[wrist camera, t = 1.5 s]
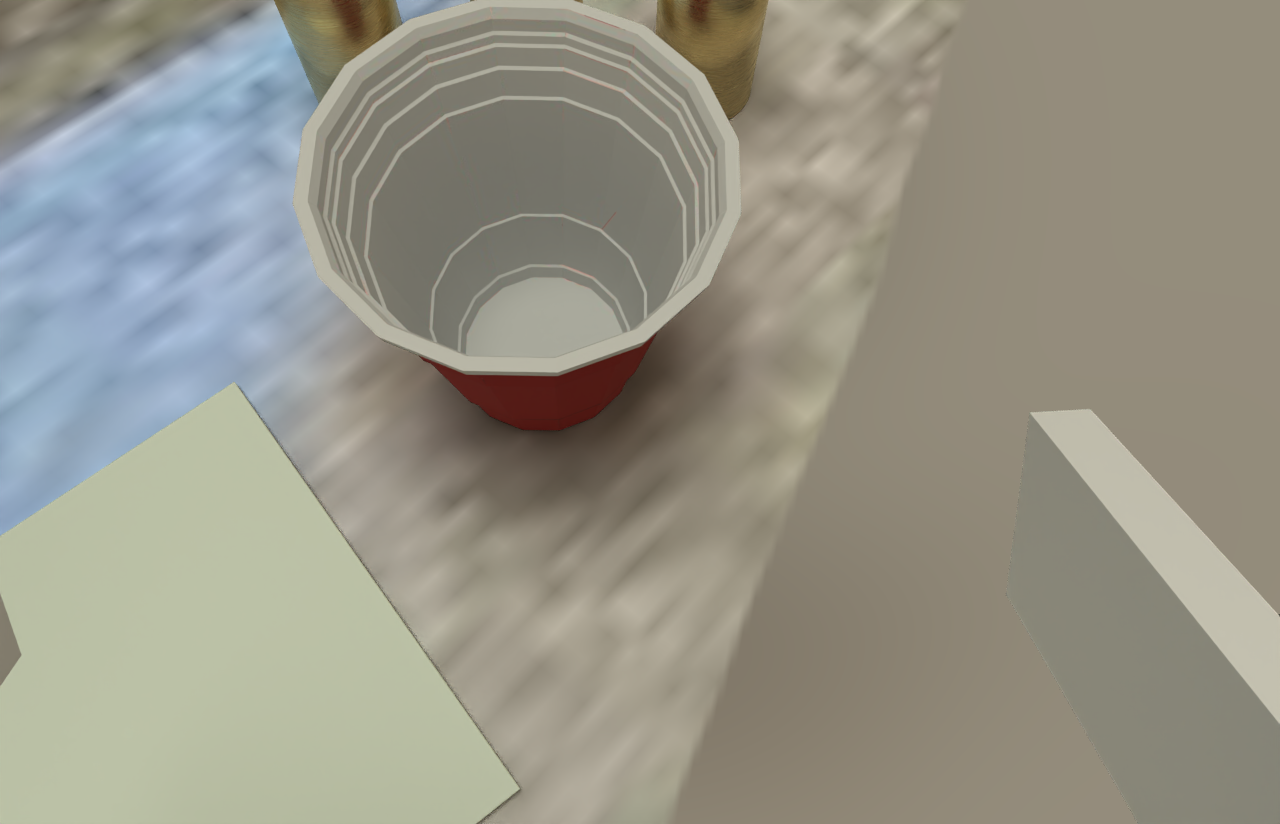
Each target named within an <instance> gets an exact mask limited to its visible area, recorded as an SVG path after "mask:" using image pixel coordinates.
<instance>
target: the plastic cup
mask: <svg viewBox="0 0 1280 824" xmlns="http://www.w3.org/2000/svg"><path fill="white" fill-rule="evenodd" d="M293 206H294V209H295V212H296V215H297V218H298V221H299V223H300V226H301V229H302V232H303V235H304V238H305V241H306V244H307V246H308V249H309V252H310V255H311V258H312V261H313V264H314V267H315V269H316V272H317V275H318V277H319V278H320V279H321V280H322V281H323V282H324V283H325V284H326V285H327V286H328V287H329V288H330V289H331V290H332V291H333V292H334V293H335V294H336V295H337V296H338V297H339V298H340V299H341V300H342V301H343V302H344V303H345V304H346V305H347V306H348V307H349V308H350V309H351V310H352V311H353V312H354V313H355V314H356V315H357V316H358V317H359V318H360V319H361V320H362V321H363V322H364V323H365V324H366V325H367V326H368V327H369V328H370V329H371V330H372V331H373V332H374V333H375V334H376V335H377V336H378V337H379V338H380V339H382V340H383V341H384V342H387V343H389V344H392V345H394V346H397V347H399V348H402V349H404V350H407V351H409V352H412V353H414V354H416V355H418V356H419V357H420V358H421V359H422V360H423V361H426V362H428V363H431V364H432V365H433V366H434V367H435V368H436V369H437V370H438V371H439V372H440V373H441V374H442V375H443V376H444V377H445V378H446V379H448V380H449V381H450V382H451V383H452V384H453V385H454V386H455V387H456V388H457V389H458V390H459V391H460V392H461V393H462V394H463V395H464V396H465V397H466V398H467V399H468V400H469V401H470V402H471V403H474V404H476V405H479V406H480V407H481V408H482V409H483V410H484V411H485V412H486V413H487V414H488V415H489V416H490V417H493V418H495V419H498V420H500V421H503V422H505V423H507V424H510V425H512V426H515V427H517V428H520V429H522V430H562V429H565V428H567V427H570V426H572V425H575V424H578V423H580V422H583V421H586V420H588V419H591V418H593V417H595V416H596V415H597V414H598V413H599V412H600V411H601V410H602V409H604V408H605V407H606V406H607V405H608V404H609V403H610V402H611V401H612V400H613V399H614V398H615V397H616V396H618V395H619V394H620V392H621V391H622V389H623V387H624V385H625V383H626V381H627V380H628V379H629V378H630V377H631V376H632V375H633V374H634V373H635V371H636V369H637V368H638V366H639V364H640V362H641V360H642V359H643V357H644V355H645V353H646V352H647V350H648V348H649V346H650V344H651V343H652V341H653V339H654V337H655V336H656V334H657V332H658V331H659V330H660V329H661V328H662V327H664V326H665V325H666V324H667V323H668V322H669V321H670V320H671V319H673V318H674V317H675V316H676V315H677V314H678V313H679V312H680V311H682V310H683V309H684V308H685V307H686V306H687V305H688V304H690V303H691V302H692V301H693V300H694V299H695V298H696V297H697V296H699V295H700V294H701V293H702V292H703V291H704V290H705V289H706V288H707V287H708V286H709V284H710V282H711V280H712V278H713V276H714V273H715V271H716V269H717V267H718V264H719V262H720V260H721V258H722V255H723V253H724V251H725V249H726V247H727V244H728V242H729V240H730V238H731V235H732V233H733V231H734V229H735V227H736V224H737V222H738V220H739V218H740V215H741V190H740V163H739V140H738V138H737V136H736V134H735V132H734V130H733V128H732V126H731V124H730V122H729V120H728V119H727V117H726V115H725V113H724V111H723V109H722V107H721V105H720V103H719V101H718V100H717V98H716V96H715V94H714V92H713V90H712V88H711V86H710V84H709V82H708V81H707V79H706V77H705V75H704V74H703V73H702V72H701V71H699V70H698V69H697V68H696V67H695V66H693V65H692V64H691V63H690V62H688V61H687V60H686V59H685V58H684V57H682V56H681V55H680V54H679V53H678V52H676V51H675V50H674V49H673V48H671V47H670V46H669V45H668V44H667V43H665V42H664V41H663V40H662V39H661V38H659V37H658V36H657V35H656V34H654V33H653V32H652V31H651V30H650V29H648V28H647V27H646V26H644V25H641V24H639V23H636V22H633V21H630V20H627V19H625V18H622V17H619V16H616V15H613V14H611V13H608V12H605V11H602V10H599V9H597V8H594V7H591V6H588V5H585V4H583V3H580V2H577V1H574V0H475V1H471V2H468V3H464V4H461V5H457V6H454V7H450V8H447V9H444V10H440V11H437V12H433V13H430V14H426V15H423V16H419V17H416V18H412V19H409V20H408V21H406V22H405V23H404V24H402V25H401V26H399V27H398V28H397V29H395V30H394V31H392V32H391V33H389V34H388V35H387V36H385V37H384V38H382V39H381V40H379V41H378V42H377V43H375V44H374V45H372V46H371V47H370V48H368V49H367V50H365V51H364V52H362V53H361V54H360V55H358V56H357V57H355V58H354V59H353V60H351V61H350V62H348V63H347V64H345V65H344V67H343V68H342V70H341V71H340V73H339V74H338V76H337V78H336V79H335V81H334V82H333V84H332V85H331V87H330V88H329V90H328V91H327V93H326V94H325V96H324V97H323V99H322V101H321V102H320V104H319V105H318V107H317V108H316V110H315V111H314V113H313V114H312V116H311V117H310V119H309V121H308V122H307V124H306V125H305V127H304V128H303V132H302V139H301V146H300V154H299V161H298V168H297V175H296V182H295V190H294V197H293Z"/></svg>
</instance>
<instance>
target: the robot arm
mask: <svg viewBox="0 0 1280 824" xmlns="http://www.w3.org/2000/svg"><path fill="white" fill-rule="evenodd" d="M1006 595H1007V597H1008V599H1009V601H1010V602H1011V604H1012V606H1013V608H1014V609H1015V611H1016V613H1017V614H1018V616H1019V618H1020V620H1021V621H1022V623H1023V625H1024V626H1025V628H1026V630H1027V632H1028V634H1029V635H1030V637H1031V639H1032V641H1033V642H1034V644H1035V646H1036V648H1037V649H1038V651H1039V653H1040V654H1041V656H1042V658H1043V660H1044V661H1045V663H1046V665H1047V666H1048V668H1049V670H1050V672H1051V674H1052V675H1053V677H1054V679H1055V680H1056V682H1057V684H1058V686H1059V687H1060V689H1061V691H1062V693H1063V694H1064V696H1065V698H1066V699H1067V701H1068V703H1069V705H1070V706H1071V708H1072V710H1073V711H1074V713H1075V715H1076V717H1077V719H1078V720H1079V722H1080V724H1081V725H1082V727H1083V729H1084V731H1085V732H1086V734H1087V736H1088V738H1089V739H1090V741H1091V743H1092V745H1093V746H1094V748H1095V750H1096V752H1097V753H1098V755H1099V757H1100V758H1101V760H1102V762H1103V764H1104V765H1105V767H1106V769H1107V771H1108V772H1109V774H1110V776H1111V778H1112V779H1113V781H1114V783H1115V785H1116V786H1117V788H1118V790H1119V791H1120V793H1121V795H1122V797H1123V798H1124V800H1125V802H1126V803H1127V805H1128V807H1129V809H1130V811H1131V812H1132V814H1133V816H1134V817H1135V819H1136V820H1137V823H1138V824H1280V614H1279V615H1278V614H1277V613H1276V612H1275V611H1274V610H1273V608H1271V606H1270V605H1269V604H1268V603H1267V602H1266V601H1265V600H1264V599H1263V598H1262V596H1261V595H1260V594H1259V593H1258V592H1257V591H1256V590H1255V589H1254V588H1253V587H1252V585H1251V584H1250V583H1249V582H1248V581H1247V580H1246V579H1245V578H1244V577H1243V576H1242V575H1241V573H1240V572H1239V571H1238V570H1237V569H1236V568H1235V567H1234V566H1233V565H1232V564H1231V562H1230V561H1229V560H1228V559H1227V558H1226V557H1225V556H1224V555H1223V554H1222V553H1221V551H1220V550H1219V549H1218V548H1217V547H1216V546H1215V545H1214V544H1213V543H1212V542H1211V541H1210V539H1209V538H1208V537H1207V536H1206V535H1205V534H1204V533H1203V532H1202V531H1201V530H1200V529H1199V527H1198V526H1197V525H1196V524H1195V523H1194V522H1193V521H1192V520H1191V519H1190V518H1189V517H1188V515H1187V514H1186V513H1185V512H1184V511H1183V510H1182V509H1181V508H1180V507H1179V506H1178V504H1177V503H1176V502H1175V501H1174V500H1173V499H1172V498H1171V497H1170V496H1169V495H1168V494H1167V493H1166V491H1165V490H1164V489H1163V488H1162V487H1161V486H1160V485H1159V484H1158V483H1157V482H1156V480H1155V479H1154V478H1153V477H1152V476H1151V475H1150V474H1149V473H1148V472H1147V471H1146V470H1145V468H1143V466H1142V465H1141V464H1140V463H1139V462H1138V461H1137V460H1136V459H1135V458H1134V456H1132V454H1131V453H1130V452H1129V451H1128V450H1127V449H1126V448H1125V447H1124V446H1123V444H1122V443H1121V442H1120V441H1119V440H1118V439H1117V438H1116V437H1115V436H1114V435H1113V433H1112V432H1111V431H1110V430H1109V429H1108V428H1107V427H1106V426H1105V425H1104V424H1103V422H1102V421H1101V420H1100V419H1099V418H1098V417H1097V416H1096V415H1095V414H1094V413H1093V412H1092V410H1091V409H1084V410H1066V411H1049V412H1032V413H1030V415H1029V422H1028V429H1027V437H1026V445H1025V453H1024V460H1023V468H1022V476H1021V483H1020V491H1019V499H1018V507H1017V514H1016V522H1015V531H1014V538H1013V545H1012V553H1011V561H1010V569H1009V576H1008V584H1007V592H1006ZM20 657H21V652H20V649H19V646H18V643H17V640H16V637H15V634H14V632H13V629H12V626H11V623H10V620H9V617H8V614H7V611H6V608H5V606H4V603H3V600H2V597H1V594H0V686H1V685H2V683H3V682H4V680H5V679H6V677H7V676H8V674H9V673H10V671H11V670H12V668H13V667H14V666H15V664H16V663H17V661H18V660H19V658H20Z"/></svg>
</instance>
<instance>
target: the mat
mask: <svg viewBox="0 0 1280 824" xmlns="http://www.w3.org/2000/svg"><path fill="white" fill-rule="evenodd" d="M0 594H1V597H2V600H3V603H4V606H5V608H6V611H7V614H8V617H9V620H10V623H11V626H12V629H13V632H14V634H15V637H16V640H17V643H18V646H19V649H20V652H21V657H20V658H19V660H18V661H17V663H16V664H15V666H14V667H13V668H12V670H11V671H10V673H9V674H8V676H7V677H6V679H5V680H4V682H3V683H2V685H1V686H0V824H477V823H478V822H479V821H481V820H482V819H483V818H485V817H486V816H487V815H488V814H490V813H491V812H492V811H493V810H495V809H496V808H497V807H498V806H500V805H501V804H502V803H504V802H505V801H506V800H507V799H509V798H510V797H511V796H512V795H514V794H515V793H516V792H517V791H519V790H520V789H521V788H520V787H519V785H518V784H517V783H516V781H515V780H514V778H513V777H512V775H511V774H510V773H509V771H508V770H507V768H506V767H505V765H504V764H503V763H502V761H501V760H500V758H499V757H498V755H497V754H496V753H495V751H494V750H493V748H492V747H491V746H490V744H489V743H488V741H487V740H486V738H485V737H484V736H483V734H482V733H481V731H480V730H479V728H478V727H477V726H476V724H475V723H474V721H473V720H472V718H471V717H470V716H469V714H468V713H467V711H466V710H465V708H464V707H463V706H462V704H461V703H460V701H459V700H458V699H457V697H456V696H455V694H454V693H453V691H452V690H451V689H450V687H449V686H448V684H447V683H446V681H445V680H444V679H443V677H442V676H441V674H440V673H439V671H438V670H437V669H436V667H435V666H434V664H433V663H432V661H431V660H430V659H429V657H428V656H427V654H426V653H425V651H424V650H423V649H422V647H421V646H420V644H419V643H418V642H417V640H416V639H415V637H414V636H413V634H412V633H411V632H410V630H409V629H408V627H407V626H406V624H405V623H404V622H403V620H402V619H401V617H400V616H399V614H398V613H397V612H396V610H395V609H394V607H393V606H392V604H391V603H390V602H389V600H388V599H387V597H386V596H385V595H384V593H383V592H382V590H381V589H380V587H379V586H378V585H377V583H376V582H375V580H374V579H373V577H372V576H371V575H370V573H369V572H368V570H367V569H366V567H365V566H364V565H363V563H362V562H361V560H360V559H359V557H358V556H357V555H356V553H355V552H354V550H353V549H352V548H351V546H350V545H349V543H348V542H347V540H346V539H345V538H344V536H343V535H342V533H341V532H340V530H339V529H338V528H337V526H336V525H335V523H334V522H333V520H332V519H331V518H330V516H329V515H328V513H327V512H326V510H325V509H324V508H323V506H322V505H321V503H320V502H319V501H318V499H317V498H316V496H315V495H314V493H313V492H312V491H311V489H310V488H309V486H308V485H307V483H306V482H305V481H304V479H303V478H302V476H301V475H300V473H299V472H298V471H297V469H296V468H295V466H294V465H293V463H292V462H291V461H290V459H289V458H288V456H287V455H286V453H285V452H284V451H283V449H282V448H281V446H280V445H279V444H278V442H277V441H276V439H275V438H274V436H273V435H272V434H271V432H270V431H269V429H268V428H267V426H266V425H265V424H264V422H263V421H262V419H261V418H260V416H259V415H258V414H257V412H256V411H255V409H254V408H253V406H252V405H251V404H250V402H249V401H248V399H247V398H246V397H245V395H244V394H243V392H242V391H241V389H240V388H239V387H238V385H237V384H236V383H235V382H233V383H232V384H230V385H229V386H227V387H226V388H224V389H223V390H221V391H220V392H218V393H217V394H215V395H214V396H212V397H211V398H209V399H208V400H206V401H205V402H203V403H201V404H200V405H198V406H197V407H195V408H194V409H192V410H191V411H189V412H188V413H186V414H185V415H183V416H182V417H180V418H179V419H177V420H176V421H174V422H173V423H171V424H170V425H168V426H167V427H165V428H164V429H162V430H160V431H159V432H157V433H156V434H154V435H153V436H151V437H150V438H148V439H147V440H145V441H144V442H142V443H141V444H139V445H138V446H136V447H135V448H133V449H132V450H130V451H129V452H127V453H126V454H124V455H123V456H121V457H119V458H118V459H116V460H115V461H113V462H112V463H110V464H109V465H107V466H106V467H104V468H103V469H101V470H100V471H98V472H97V473H95V474H94V475H92V476H91V477H89V478H88V479H86V480H85V481H83V482H82V483H80V484H78V485H77V486H75V487H74V488H72V489H71V490H69V491H68V492H66V493H65V494H63V495H62V496H60V497H59V498H57V499H56V500H54V501H53V502H51V503H50V504H48V505H47V506H45V507H44V508H42V509H41V510H39V511H37V512H36V513H34V514H33V515H31V516H30V517H28V518H27V519H25V520H24V521H22V522H21V523H19V524H18V525H16V526H15V527H13V528H12V529H10V530H9V531H7V532H6V533H4V534H3V535H1V536H0Z"/></svg>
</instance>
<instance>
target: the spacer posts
mask: <svg viewBox="0 0 1280 824" xmlns="http://www.w3.org/2000/svg"><path fill="white" fill-rule="evenodd" d="M274 1H275V4H276V6H277V8H278V11H279V13H280V15H281V17H282V20H283V22H284V24H285V27H286V29H287V31H288V34H289V36H290V38H291V41H292V43H293V45H294V47H295V50H296V52H297V54H298V57H299V59H300V61H301V64H302V66H303V68H304V70H305V73H306V75H307V77H308V80H309V82H310V84H311V87H312V89H313V91H314V94H315V96H316V98H317V100H318V103H319V104H320V102H321V101H322V99H323V97H324V96H325V94H326V93H327V91H328V90H329V88H330V87H331V85H332V84H333V82H334V81H335V79H336V78H337V76H338V74H339V73H340V71H341V70H342V68H343V67H344V65H345V64H347V63H348V62H350V61H351V60H353V59H354V58H355V57H357V56H358V55H360V54H361V53H362V52H364V51H365V50H367V49H368V48H370V47H371V46H372V45H374V44H375V43H377V42H378V41H379V40H381V39H382V38H384V37H385V36H387V35H388V34H389V33H391V32H392V31H394V30H395V29H397V28H398V27H399V26H401V25H402V21H401V17H400V13H399V10H398V6H397V3H396V0H274ZM471 1H475V0H470V2H471ZM574 1H577V2H580V3H583V0H574ZM767 5H768V0H657V18H656V35H657V36H658V37H659V38H661V39H662V40H663V41H664V42H665V43H667V44H668V45H669V46H670V47H671V48H673V49H674V50H675V51H676V52H678V53H679V54H680V55H681V56H682V57H684V58H685V59H686V60H687V61H688V62H690V63H691V64H692V65H693V66H695V67H696V68H697V69H698V70H699V71H701V72H702V73H703V74H704V75H705V77H706V79H707V81H708V82H709V84H710V86H711V88H712V90H713V92H714V94H715V96H716V98H717V100H718V101H719V103H720V105H721V107H722V109H723V111H724V113H725V115H726V117H727V119H728V120H729V119H731V118H732V117H734V116H735V115H736V114H738V113H739V112H740V111H741V110H742V108H743V107H744V106H745V104H746V102H747V101H748V98H749V95H750V91H751V86H752V81H753V76H754V71H755V66H756V61H757V56H758V50H759V45H760V40H761V35H762V30H763V25H764V20H765V15H766V10H767Z"/></svg>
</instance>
